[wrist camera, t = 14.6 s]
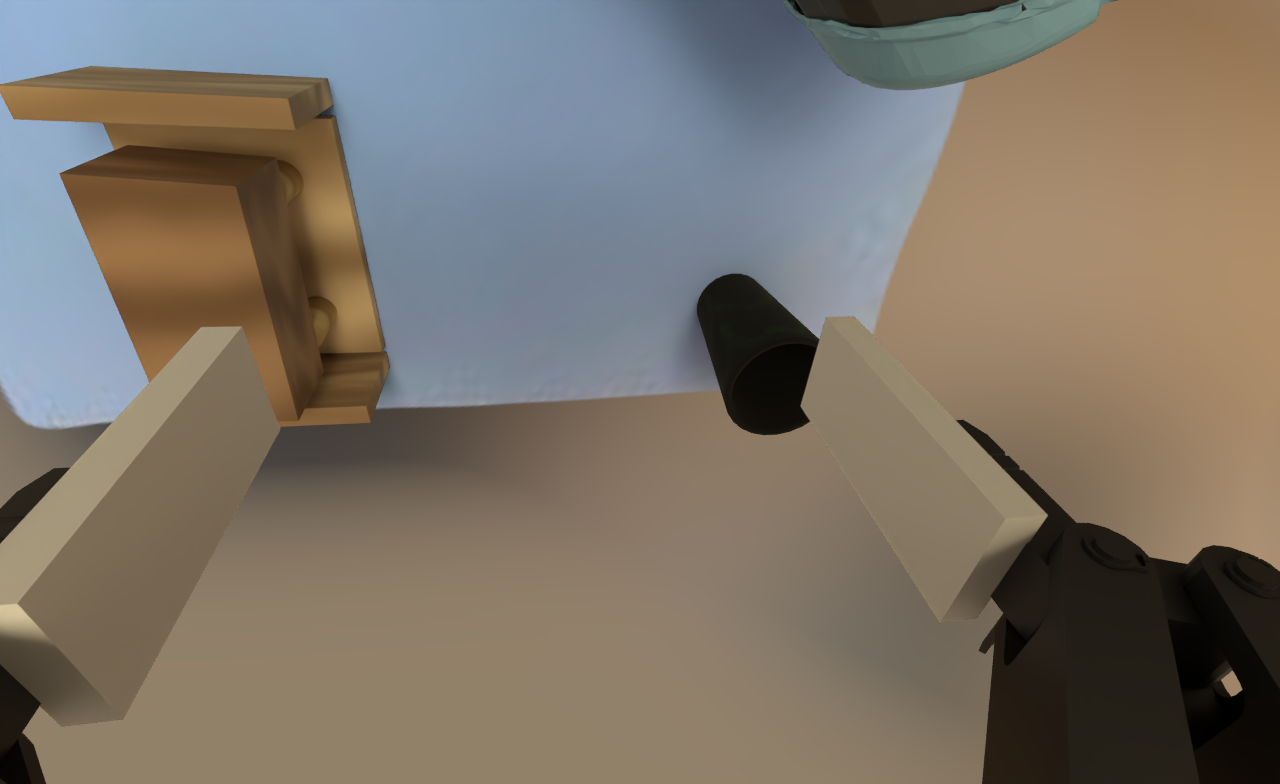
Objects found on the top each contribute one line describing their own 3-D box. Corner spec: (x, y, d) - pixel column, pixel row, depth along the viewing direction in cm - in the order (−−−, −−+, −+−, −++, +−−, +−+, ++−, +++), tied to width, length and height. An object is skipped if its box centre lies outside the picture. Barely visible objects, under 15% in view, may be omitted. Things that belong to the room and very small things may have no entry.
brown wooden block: (323, 371, 39) (298, 421, 35) (208, 369, 38) (166, 421, 33) (276, 157, 31) (235, 186, 27) (127, 144, 30) (59, 173, 26)
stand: (90, 66, 31) (-4, 85, 26) (327, 78, 33) (287, 98, 28) (219, 372, 43) (173, 431, 37) (389, 367, 45) (370, 422, 39)
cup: (689, 354, 49) (729, 446, 39) (678, 272, 44) (721, 354, 35) (776, 334, 49) (837, 421, 39) (775, 251, 45) (843, 326, 35)
